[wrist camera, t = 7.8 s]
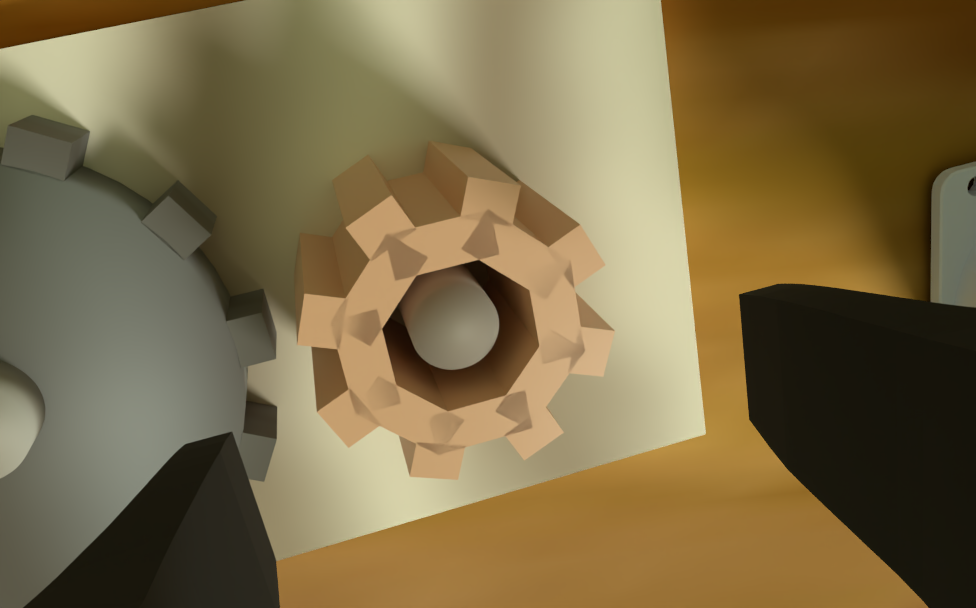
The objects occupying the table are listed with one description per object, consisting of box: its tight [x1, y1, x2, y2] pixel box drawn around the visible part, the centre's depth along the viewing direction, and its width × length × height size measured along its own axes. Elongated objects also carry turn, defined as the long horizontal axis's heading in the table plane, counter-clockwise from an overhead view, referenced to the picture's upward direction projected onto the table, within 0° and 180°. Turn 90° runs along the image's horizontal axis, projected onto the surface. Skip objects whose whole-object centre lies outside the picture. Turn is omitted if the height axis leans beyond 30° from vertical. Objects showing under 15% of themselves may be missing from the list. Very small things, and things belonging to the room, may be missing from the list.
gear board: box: [0, 0, 706, 608], centre depth 17 cm, size 20×12×4 cm, turn 101°
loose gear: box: [294, 141, 615, 480], centre depth 16 cm, size 5×5×4 cm
